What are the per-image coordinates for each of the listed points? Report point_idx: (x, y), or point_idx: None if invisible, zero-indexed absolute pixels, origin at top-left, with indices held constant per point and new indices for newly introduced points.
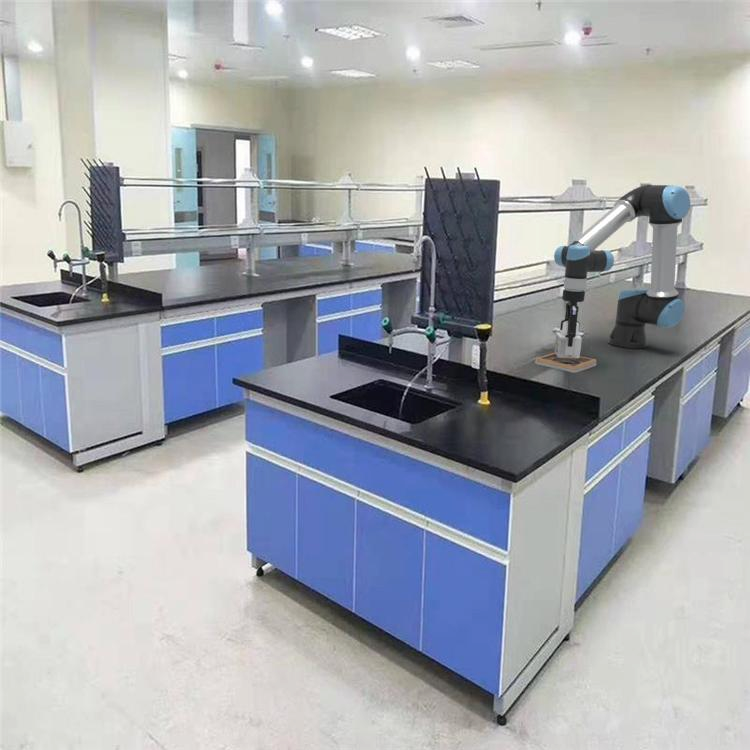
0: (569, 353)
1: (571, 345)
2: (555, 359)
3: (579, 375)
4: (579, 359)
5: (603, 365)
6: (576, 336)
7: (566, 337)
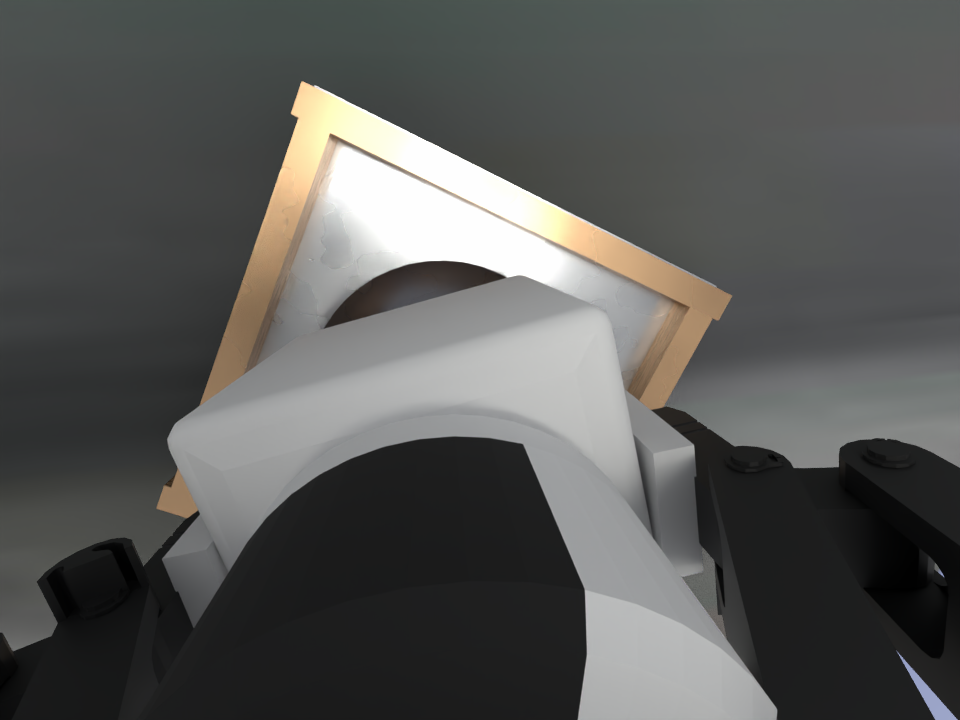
0: None
1: (685, 421)
2: None
3: (763, 239)
4: (287, 277)
5: (265, 10)
6: (586, 421)
7: (676, 569)
